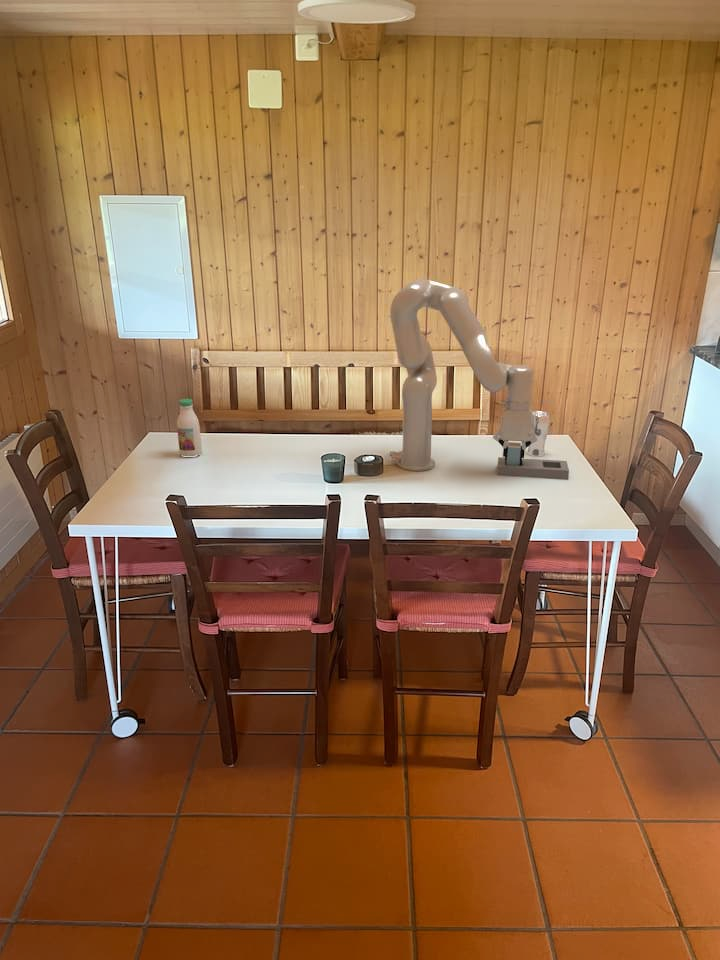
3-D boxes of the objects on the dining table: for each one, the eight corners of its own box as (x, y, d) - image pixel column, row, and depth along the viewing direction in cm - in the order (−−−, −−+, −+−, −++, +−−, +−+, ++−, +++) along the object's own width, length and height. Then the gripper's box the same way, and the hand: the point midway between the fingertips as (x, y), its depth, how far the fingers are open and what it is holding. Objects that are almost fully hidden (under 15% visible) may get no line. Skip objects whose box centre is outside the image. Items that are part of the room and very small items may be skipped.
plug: (505, 472, 226) (508, 445, 223) (505, 467, 230) (508, 442, 226) (518, 472, 225) (520, 446, 222) (518, 468, 229) (520, 442, 225)
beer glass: (548, 453, 244) (552, 412, 239) (542, 459, 239) (546, 417, 233) (529, 450, 248) (533, 409, 242) (522, 455, 242) (526, 414, 237)
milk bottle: (192, 449, 252) (186, 396, 244) (206, 453, 248) (201, 399, 240) (175, 455, 246) (169, 400, 239) (190, 459, 242) (184, 404, 234)
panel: (497, 476, 224) (498, 466, 223) (497, 467, 233) (498, 457, 231) (567, 480, 220) (568, 470, 219) (565, 470, 229) (566, 460, 227)
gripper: (490, 406, 217) (486, 461, 224) (545, 409, 214) (540, 465, 221) (491, 400, 224) (487, 453, 231) (544, 403, 221) (539, 457, 228)
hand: (513, 458), depth 226 cm, fingers closed on plug, 4 cm apart
